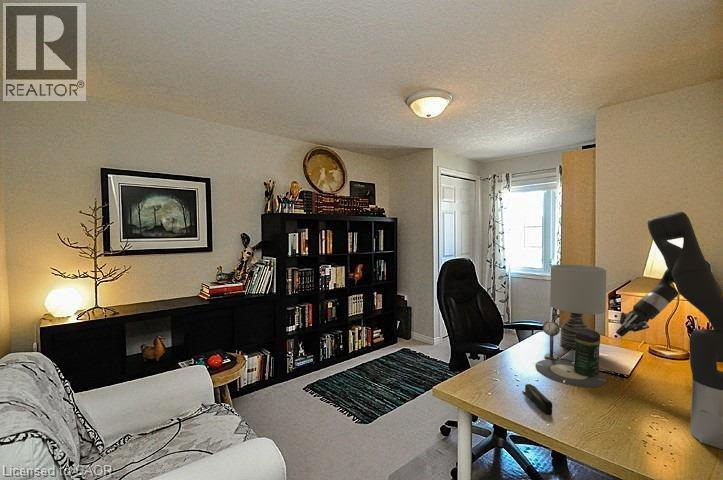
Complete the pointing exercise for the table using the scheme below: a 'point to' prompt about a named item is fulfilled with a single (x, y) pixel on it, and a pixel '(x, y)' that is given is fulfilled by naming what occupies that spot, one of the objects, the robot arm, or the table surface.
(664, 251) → the robot arm
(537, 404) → the dark elongated block
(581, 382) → the mat
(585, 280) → the lamp
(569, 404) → the table surface
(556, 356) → the dial gauge
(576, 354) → the coffee jar
